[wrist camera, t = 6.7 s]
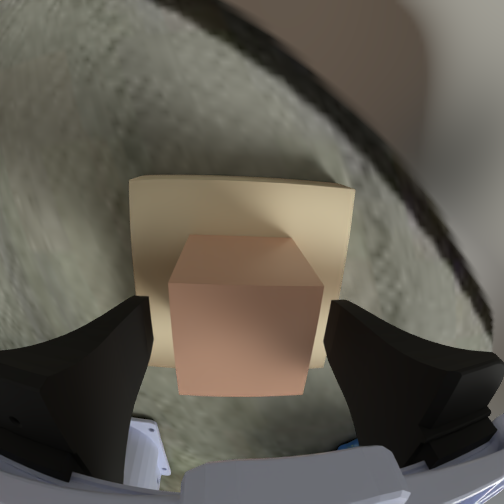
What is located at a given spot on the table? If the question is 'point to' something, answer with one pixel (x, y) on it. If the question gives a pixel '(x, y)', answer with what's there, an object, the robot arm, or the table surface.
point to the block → (243, 316)
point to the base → (234, 233)
